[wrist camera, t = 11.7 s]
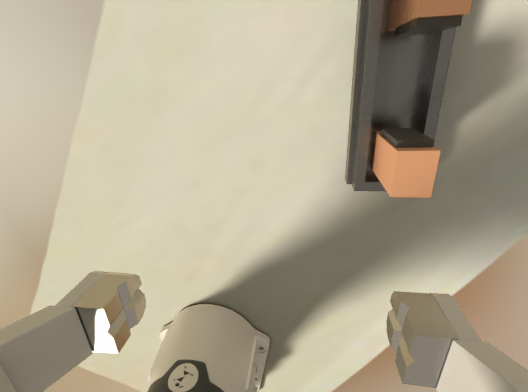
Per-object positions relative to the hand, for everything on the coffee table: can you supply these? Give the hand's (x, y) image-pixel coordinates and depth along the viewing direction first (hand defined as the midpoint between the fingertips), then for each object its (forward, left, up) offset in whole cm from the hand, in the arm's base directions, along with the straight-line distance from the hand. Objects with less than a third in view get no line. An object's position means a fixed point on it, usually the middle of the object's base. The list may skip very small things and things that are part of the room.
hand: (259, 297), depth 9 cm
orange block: (-2, -10, -24) cm, 26 cm away
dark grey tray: (+4, -10, -26) cm, 28 cm away
